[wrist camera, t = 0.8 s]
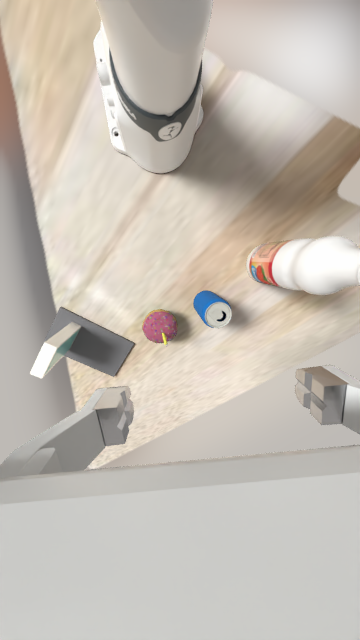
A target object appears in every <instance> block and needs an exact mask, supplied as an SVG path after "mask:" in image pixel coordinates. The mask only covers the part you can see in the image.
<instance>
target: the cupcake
mask: <svg viewBox="0 0 360 640" xmlns="http://www.w3.org/2000/svg"><path fill="white" fill-rule="evenodd" d="M142 329H143V332H144V334H145V335H146V337H147V339H149V340H150V341H153V342H155V343H164V344H165V345H166V346H167V341H169V340H171V339H172V338H174V336H176V333H177V321H176V318H175V317H174V316H173V315H172V314H171V313H170V312H169V311H165V310H162V309H158V310H153V311H151V312H150V313H149V314H148V315H147V316H146V318H145V320H144V322H143V325H142Z"/></svg>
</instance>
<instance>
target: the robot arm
mask: <svg viewBox="0 0 360 640" xmlns="http://www.w3.org/2000/svg"><path fill="white" fill-rule="evenodd" d="M95 3H96V5H97V8H98V11H99V14H100V17H101V20H102V21H101V29H100V30H99V32H98V33H97V35H96V37H95V39H94V51H95V56H96V62H97V64H96V65H97V70H98V75H99V78H100V83H101V88H102V94H103V99H104V104H105V110H106V115H107V121H108V126H109V131H110V137H111V142H112V145H113V147H114V149H115V150H116V151H118V152H120V153H123V154H125V155H128V156H129V157H131V158H132V159H133V160H134V161H135V162H136V163H137V164H138V165H139V166H141V167H142V168H144V169H146V170H148V171H150V172H154V173H166V172H170V171H172V170H174V169H176V168H177V167H178V166H180V165H181V164H182V163H183V161H184V160H185V159H186V157H187V155H188V154H189V151H190V149H191V145H192V141H193V137H194V134H195V132H196V131H197V129H198V128H199V126H200V125H201V123H202V120H203V109H202V106H201V99H202V93H203V87H202V84H200V82H201V72H202V55H203V50H204V46H205V40H206V36H207V32H208V27H209V22H210V17H211V12H212V6H213V0H95ZM116 133H118V134H119V135H118V136H117V137H116V136H115V134H116ZM296 379H297V380H298V383H297V384H296V385H295V393H296V396H297V398H298V400H299V402H300V403H301V404H302V405H303V406H304V407H306V408H308V409H310V414H311V415H312V416H313V417H314V418H315V419H316V420H317V421H318V422H319V423H320V424H321V425H329V424H343V425H344V426H346V427H348V428H350V429H351V430H353V431H355V432H357V433H358V434H360V381H359V380H357V379H356V378H354V377H352V376H351V375H349V374H347V373H345V372H344V371H342V370H340V369H338V368H337V367H335V366H333V365H325V366H318V367H310V368H302V369H297V371H296ZM130 395H131V392H130V388H129V387H128V386H123V387H110V388H100V389H96V390H95V392H94V393H93V395H92V396H91V397H90V399H89V400H88V401H87V403H86V404H85V405H84V407H83V408H82V409H81V411H77V412H75V413H74V414H72V415H70V416H69V417H67V418H66V419H64V420H62V421H61V422H59V423H58V424H56V425H54V426H53V427H51V428H49V429H48V430H46V431H44V432H43V433H41V434H40V435H38V436H37V437H35V438H33V439H32V440H30V441H28V442H27V443H25V444H24V445H22V446H20V447H19V448H17V449H15V450H14V451H13V452H12V453H11V454H10V455H9V456H8V457H7V458H6V460H4V462H3V463H2V464H1V465H0V640H360V445H352V446H341V447H330V448H320V449H309V450H298V451H287V452H277V453H266V454H256V455H245V456H233V457H222V458H213V459H201V460H190V461H179V462H168V463H158V464H146V465H135V466H126V467H115V468H103V469H92V470H84V469H86V468H87V466H88V465H89V464H90V463H91V462H92V461H93V460H94V459H95V458H96V457H97V456H98V455H99V453H100V452H101V451H102V450H103V449H104V448H105V446H111V445H119V444H125V442H126V439H127V435H128V432H129V428H128V426H129V425H130V424H131V423H132V420H133V414H134V407H133V402H132V401H131V400H130V399H129V398H130Z"/></svg>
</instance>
